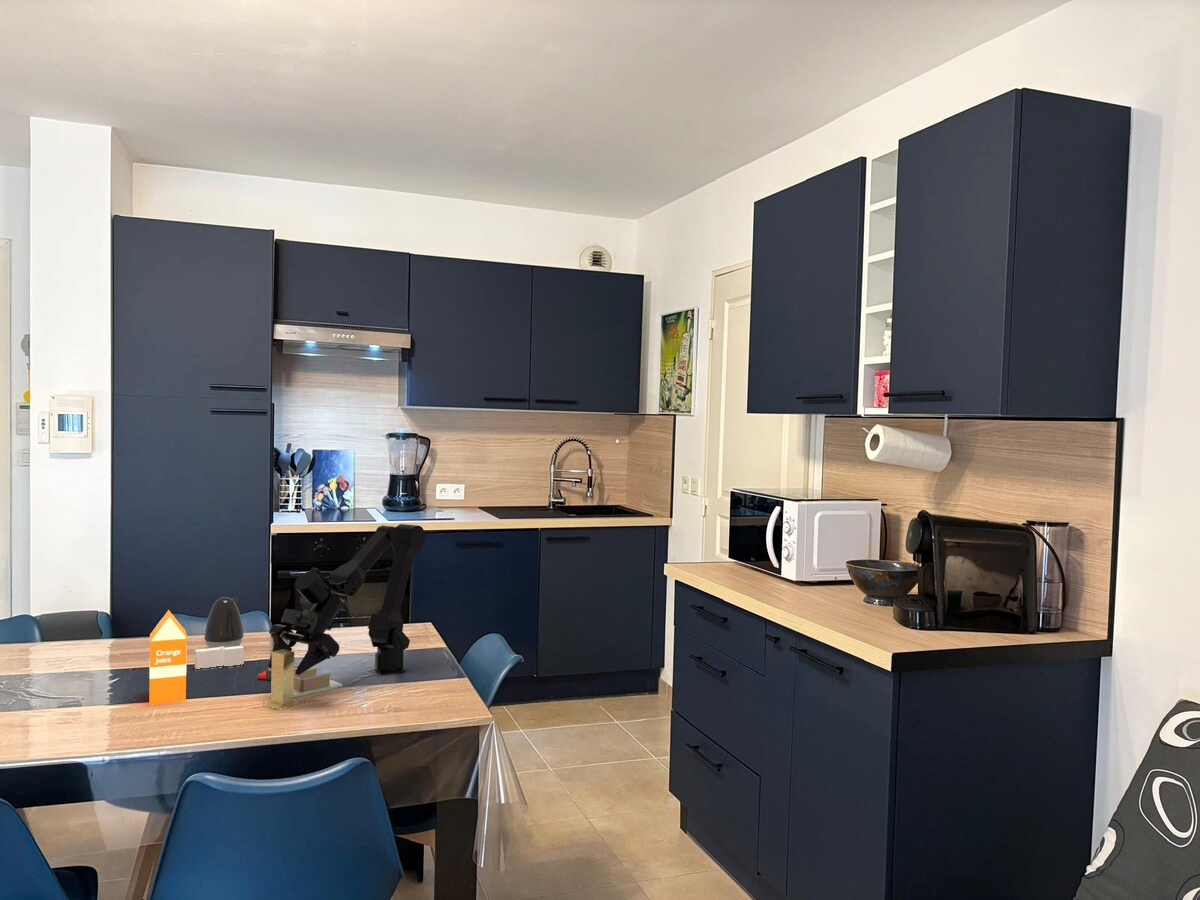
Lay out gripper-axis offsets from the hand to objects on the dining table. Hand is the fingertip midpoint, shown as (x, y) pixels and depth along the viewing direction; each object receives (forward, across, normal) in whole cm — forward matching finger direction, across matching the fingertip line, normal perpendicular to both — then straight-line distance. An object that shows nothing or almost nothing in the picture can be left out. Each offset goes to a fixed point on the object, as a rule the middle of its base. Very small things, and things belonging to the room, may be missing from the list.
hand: (282, 670), depth 198 cm
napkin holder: (-2, -38, +15) cm, 41 cm away
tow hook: (-5, -20, +17) cm, 27 cm away
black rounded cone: (-11, -52, +22) cm, 58 cm away
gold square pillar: (+6, 0, +6) cm, 8 cm away
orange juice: (+14, -26, -2) cm, 30 cm away
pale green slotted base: (-3, -5, +14) cm, 16 cm away
